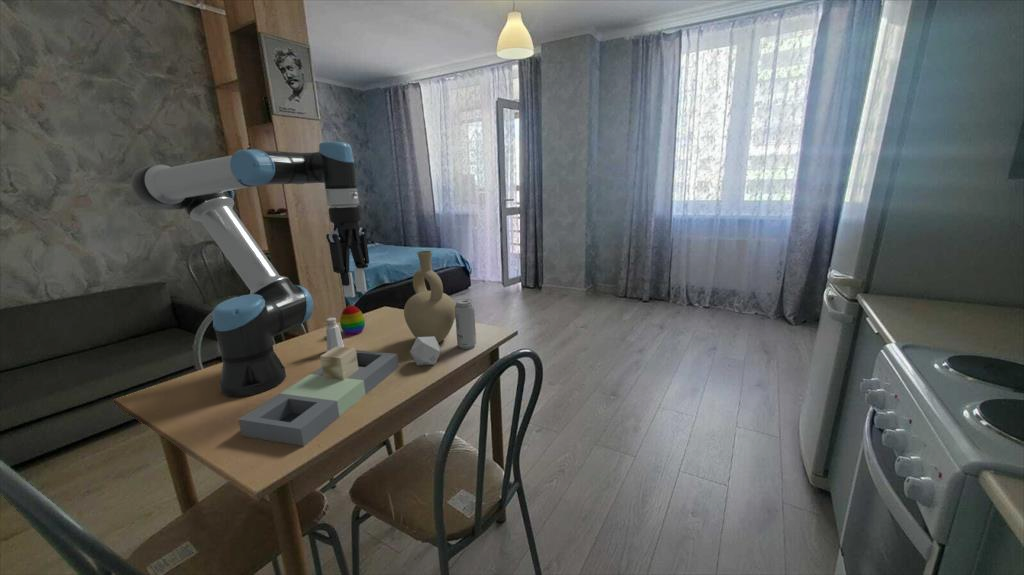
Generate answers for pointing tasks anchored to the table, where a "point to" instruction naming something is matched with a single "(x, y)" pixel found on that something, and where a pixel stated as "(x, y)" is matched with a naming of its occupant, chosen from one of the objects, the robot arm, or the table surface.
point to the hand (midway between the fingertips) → (355, 293)
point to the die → (425, 350)
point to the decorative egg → (352, 320)
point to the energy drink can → (465, 323)
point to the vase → (429, 303)
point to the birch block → (339, 363)
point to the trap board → (315, 401)
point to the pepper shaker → (333, 335)
